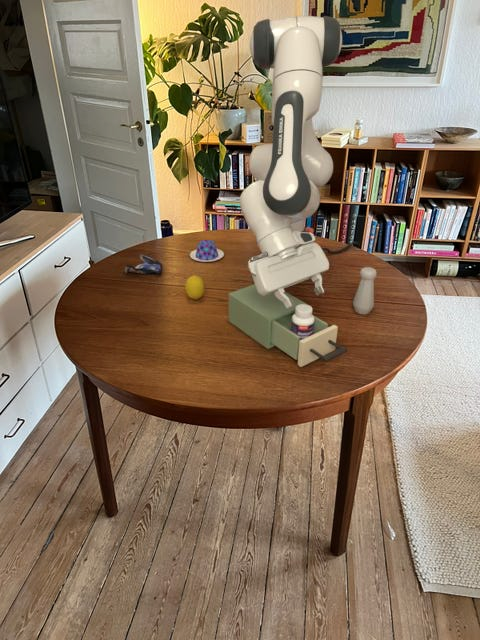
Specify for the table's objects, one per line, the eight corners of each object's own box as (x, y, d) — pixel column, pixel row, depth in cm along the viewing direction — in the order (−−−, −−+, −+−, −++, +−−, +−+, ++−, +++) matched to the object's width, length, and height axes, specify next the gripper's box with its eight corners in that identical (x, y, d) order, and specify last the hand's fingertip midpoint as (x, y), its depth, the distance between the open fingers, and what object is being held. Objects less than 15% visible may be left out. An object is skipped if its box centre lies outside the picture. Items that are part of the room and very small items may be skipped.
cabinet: (304, 332, 122) (307, 303, 117) (267, 349, 115) (268, 319, 111) (264, 307, 133) (265, 280, 128) (228, 321, 126) (228, 293, 122)
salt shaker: (350, 313, 130) (356, 271, 123) (353, 304, 134) (359, 263, 127) (371, 317, 128) (378, 275, 121) (373, 307, 132) (381, 266, 126)
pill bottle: (297, 350, 111) (299, 316, 106) (286, 339, 115) (288, 305, 110) (316, 345, 113) (319, 311, 108) (305, 334, 117) (308, 300, 112)
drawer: (351, 360, 110) (355, 336, 106) (317, 378, 104) (320, 354, 100) (292, 323, 124) (293, 301, 120) (258, 337, 118) (259, 314, 114)
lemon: (202, 305, 134) (200, 280, 130) (183, 303, 135) (181, 278, 131) (207, 296, 139) (206, 271, 134) (189, 294, 140) (187, 270, 135)
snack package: (137, 262, 159) (119, 276, 150) (138, 245, 156) (119, 258, 146) (169, 273, 157) (152, 287, 147) (170, 256, 153) (153, 269, 144)
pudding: (189, 264, 158) (188, 249, 155) (190, 250, 168) (189, 236, 165) (224, 262, 159) (224, 248, 156) (223, 249, 169) (222, 235, 166)
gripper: (250, 253, 101) (278, 310, 99) (318, 231, 111) (344, 282, 110) (238, 264, 106) (265, 319, 105) (304, 243, 117) (328, 292, 115)
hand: (306, 300), depth 107 cm, fingers open, 8 cm apart
